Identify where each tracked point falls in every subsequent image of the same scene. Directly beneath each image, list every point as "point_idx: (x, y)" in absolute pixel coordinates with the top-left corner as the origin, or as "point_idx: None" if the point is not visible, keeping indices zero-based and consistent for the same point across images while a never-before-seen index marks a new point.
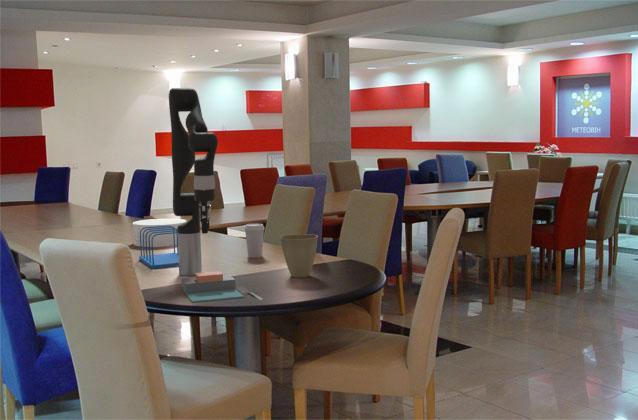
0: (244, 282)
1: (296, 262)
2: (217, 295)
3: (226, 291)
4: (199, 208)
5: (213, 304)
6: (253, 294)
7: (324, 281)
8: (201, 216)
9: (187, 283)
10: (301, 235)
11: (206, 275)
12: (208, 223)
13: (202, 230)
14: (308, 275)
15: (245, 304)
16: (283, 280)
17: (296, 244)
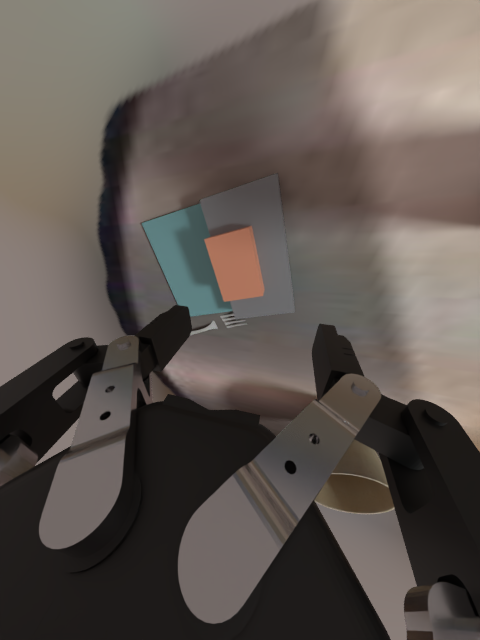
0: (308, 330)
1: None
2: (187, 274)
3: (220, 292)
4: (58, 475)
5: (136, 265)
6: (193, 331)
7: (275, 420)
8: (32, 377)
9: (203, 204)
10: (387, 505)
11: (211, 262)
12: (316, 375)
13: (169, 314)
14: None
15: (143, 313)
16: (301, 385)
17: None
